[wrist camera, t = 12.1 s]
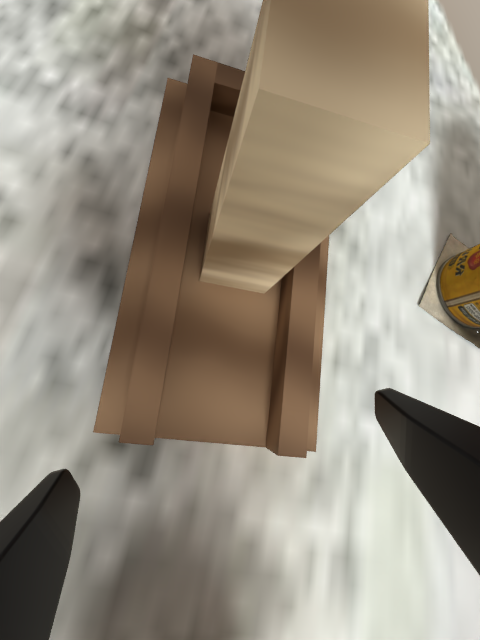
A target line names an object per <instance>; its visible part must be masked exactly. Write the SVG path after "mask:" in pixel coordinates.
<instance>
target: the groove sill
mask: <svg viewBox="0 0 480 640" xmlns="http://www.w3.org/2000/svg"><path fill="white" fill-rule="evenodd" d="M244 75H245V71H242V70H239V69H236V68H233V67H230V66H227V65H224V64H221V63H218V62H215V61H212V60H209V59H205V58H202V57H199V56H196V55H193V58H192V63H191V69H190V74H189V79H188V84H186V83H183V82H180V81H176V80H173V79H170V78H168V79H167V84H166V89H165V94H164V98H163V103H162V108H161V113H160V117H159V122H158V127H157V132H156V136H155V141H154V146H153V151H152V155H151V160H150V165H149V170H148V174H147V179H146V184H145V189H144V193H143V198H142V203H141V208H140V212H139V217H138V222H137V227H136V231H135V236H134V241H133V246H132V250H131V255H130V260H129V265H128V269H127V274H126V279H125V284H124V288H123V293H122V298H121V303H120V308H119V312H118V317H117V322H116V327H115V331H114V336H113V341H112V346H111V350H110V355H109V360H108V365H107V369H106V374H105V379H104V384H103V388H102V393H101V398H100V403H99V407H98V412H97V417H96V422H95V426H94V431H93V432H95V433H107V434H118V435H120V438H119V443H131V444H143V445H153V444H154V439H155V438H164V439H176V440H187V441H199V442H210V443H222V444H233V445H245V446H256V447H266V448H267V449H269V450H270V451H272V452H273V453H275V454H276V455H278V456H289V457H301V458H306V454H307V451H314V452H316V440H317V424H318V407H319V391H320V375H321V359H322V343H323V327H324V310H325V294H326V278H327V262H328V246H329V235H328V236H327V237H326V238H325V239H324V240H323V241H322V242H321V243H320V244H319V245H317V246H316V247H315V248H314V249H313V250H312V251H311V252H310V253H309V254H308V255H306V256H305V257H304V258H303V259H302V260H301V261H300V262H299V263H298V264H297V265H295V266H294V267H293V268H292V269H291V270H290V271H289V272H288V273H287V274H285V275H284V276H283V277H282V278H281V279H280V280H279V281H278V282H277V283H276V284H274V285H273V286H272V287H271V288H270V289H269V290H268V291H267V292H266V293H265V294H264V293H259V292H253V291H248V290H243V289H238V288H233V287H227V286H222V285H217V284H212V283H207V282H201V281H199V278H200V272H201V266H202V259H203V253H204V247H205V241H206V235H207V229H208V222H209V216H210V211H211V207H212V203H213V199H214V195H215V191H216V187H217V183H218V179H219V175H220V171H221V167H222V163H223V159H224V155H225V151H226V147H227V143H228V139H229V135H230V131H231V127H232V123H233V119H234V115H235V111H236V107H237V103H238V99H239V95H240V91H241V87H242V83H243V79H244Z"/></svg>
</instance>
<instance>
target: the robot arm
mask: <svg viewBox="0 0 480 640" xmlns="http://www.w3.org/2000/svg"><path fill="white" fill-rule="evenodd" d="M375 416H376V419H377V421H378V423H379V424H380V426H381V428H382V430H383V432H384V433H385V435H386V437H387V439H388V440H389V442H390V444H391V446H392V448H393V449H394V451H395V453H396V455H397V456H398V458H399V460H400V462H401V463H402V465H403V467H404V468H405V470H406V471H407V473H408V474H409V476H410V477H411V479H412V480H413V482H414V483H415V484H416V486H417V487H418V489H419V490H420V491H421V493H422V494H423V496H424V497H425V499H426V500H427V501H428V503H429V504H430V506H431V507H432V508H433V510H434V511H435V513H436V514H437V516H438V517H439V518H440V520H441V521H442V523H443V524H444V526H445V527H446V528H447V530H448V531H449V533H450V534H451V535H452V537H453V538H454V540H455V541H456V543H457V544H458V545H459V547H460V548H461V550H462V551H463V552H464V554H465V555H466V557H467V558H468V560H469V561H470V562H471V564H472V565H473V567H474V568H475V569H476V571H477V572H478V574H479V575H480V427H479V426H477V425H475V424H472V423H470V422H468V421H465V420H463V419H461V418H458V417H456V416H454V415H451V414H449V413H447V412H444V411H442V410H440V409H437V408H435V407H433V406H431V405H428V404H426V403H424V402H421V401H419V400H417V399H414V398H412V397H410V396H407V395H405V394H403V393H400V392H398V391H396V390H393V389H391V388H386V389H382V390H378V391H376V392H375ZM79 501H80V489H79V487H78V485H77V483H76V481H75V480H74V478H73V476H72V475H71V473H70V472H69V470H67V469H62V470H58V471H54V472H51V473H50V474H49V475H47V476H46V477H45V478H44V479H43V480H42V481H41V482H40V483H39V484H38V485H37V486H36V487H35V488H34V489H33V490H32V491H31V492H30V493H29V494H28V495H27V496H26V497H25V498H24V499H23V500H22V501H21V502H20V503H19V504H18V505H17V506H16V507H15V508H14V509H13V510H12V511H11V512H10V513H9V514H8V515H7V516H6V517H5V518H4V519H3V520H2V521H1V522H0V640H49V637H50V633H51V629H52V626H53V622H54V618H55V614H56V610H57V606H58V603H59V599H60V595H61V591H62V587H63V583H64V579H65V576H66V572H67V568H68V564H69V560H70V555H71V550H72V545H73V538H74V532H75V526H76V520H77V514H78V508H79Z"/></svg>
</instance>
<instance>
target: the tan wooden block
mask: <svg viewBox="0 0 480 640" xmlns="http://www.w3.org/2000/svg"><path fill="white" fill-rule="evenodd" d="M429 144H430V116H429V21H428V0H263V3H262V7H261V11H260V15H259V19H258V23H257V27H256V31H255V35H254V39H253V43H252V47H251V51H250V55H249V59H248V63H247V67H246V71H245V75H244V79H243V83H242V87H241V91H240V95H239V99H238V103H237V107H236V111H235V115H234V119H233V123H232V127H231V131H230V135H229V139H228V143H227V147H226V151H225V155H224V159H223V163H222V167H221V171H220V175H219V179H218V183H217V187H216V191H215V195H214V199H213V203H212V207H211V211H210V216H209V222H208V229H207V235H206V241H205V247H204V253H203V259H202V266H201V272H200V278H199V281H201V282H207V283H212V284H217V285H222V286H227V287H233V288H238V289H243V290H248V291H253V292H259V293H264V294H265V293H266V292H267V291H268V290H269V289H270V288H271V287H272V286H273V285H274V284H276V283H277V282H278V281H279V280H280V279H281V278H282V277H283V276H284V275H285V274H287V273H288V272H289V271H290V270H291V269H292V268H293V267H294V266H295V265H297V264H298V263H299V262H300V261H301V260H302V259H303V258H304V257H305V256H306V255H308V254H309V253H310V252H311V251H312V250H313V249H314V248H315V247H316V246H317V245H319V244H320V243H321V242H322V241H323V240H324V239H325V238H326V237H327V236H328V235H330V234H331V233H332V232H333V231H334V230H335V229H336V228H337V227H338V226H340V225H341V224H342V223H343V222H344V221H345V220H346V219H347V218H348V217H349V216H351V215H352V214H353V213H354V212H355V211H356V210H357V209H358V208H359V207H360V206H362V205H363V204H364V203H365V202H366V201H367V200H368V199H369V198H370V197H372V196H373V195H374V194H375V193H376V192H377V191H378V190H379V189H380V188H381V187H383V186H384V185H385V184H386V183H387V182H388V181H389V180H390V179H391V178H392V177H394V176H395V175H396V174H397V173H398V172H399V171H400V170H401V169H402V168H403V167H405V166H406V165H407V164H408V163H409V162H410V161H411V160H412V159H413V158H415V157H416V156H417V155H418V154H419V153H420V152H421V151H422V150H423V149H424V148H426V147H427V146H428V145H429Z"/></svg>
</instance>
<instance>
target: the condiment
mask: <svg viewBox="0 0 480 640" xmlns="http://www.w3.org/2000/svg"><path fill="white" fill-rule="evenodd" d="M419 307H421V308H422V309H424V310H425V311H426V312H428V313H429V314H430V315H432V316H433V317H434V318H436V319H437V320H438V321H440V322H442V323H443V324H444V325H445V326H447V327H448V328H450V329H451V330H453V331H455V332H456V333H457V334H459V335H460V336H462V337H464V338H465V339H466V340H468V341H470V342H472V343H473V344H475V346H477V347H478V348H480V244H479V245H477V246H474V247H472V248H470V249H469V248H468V247H466V246H465V245H464V244H463V243H461V242H460V241H459V240H457V239H456V238H455V237H454V236H453V235H452V234H450V236H449V238H448V240H447V242H446V244H445V246H444V249H443V251H442V253H441V255H440V257H439V259H438V261H437V263H436V266H435V268H434V271H433V273H432V276H431V278H430V280H429V282H428V286H427V288H426V291H425V293H424V296H423V298H422V300H421V303H420V305H419ZM477 331H478V332H479V333H477Z"/></svg>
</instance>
